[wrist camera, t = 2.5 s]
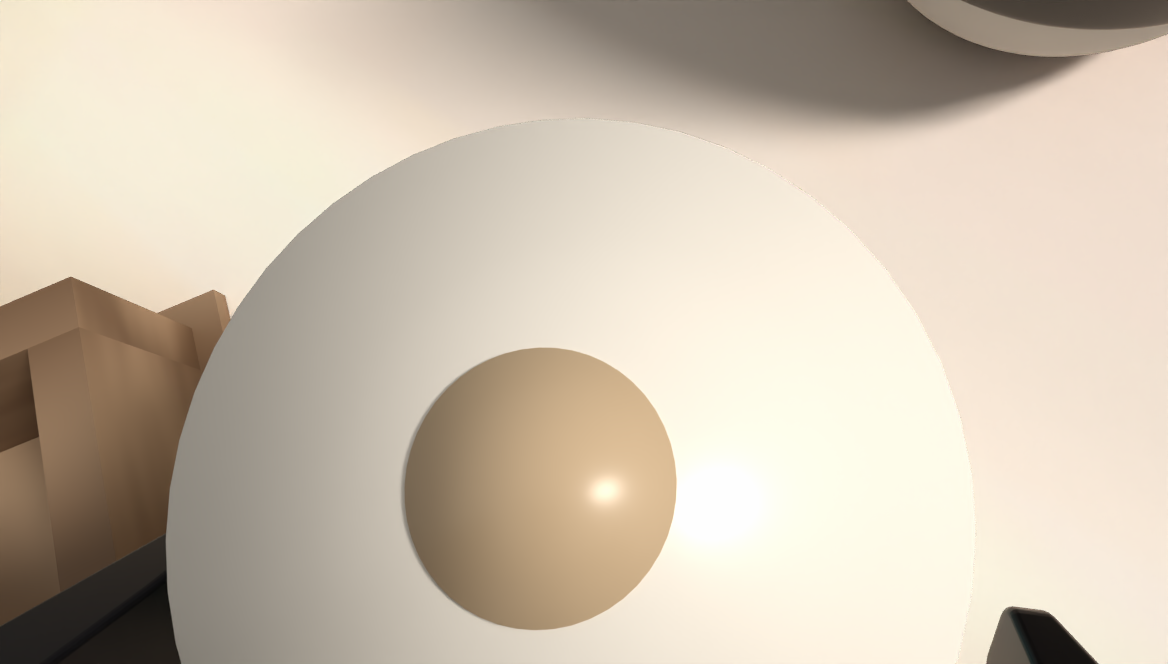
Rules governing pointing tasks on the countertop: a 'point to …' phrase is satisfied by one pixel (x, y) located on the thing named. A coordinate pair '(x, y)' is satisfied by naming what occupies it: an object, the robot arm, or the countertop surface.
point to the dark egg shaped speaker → (1050, 24)
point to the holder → (90, 429)
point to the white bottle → (572, 426)
